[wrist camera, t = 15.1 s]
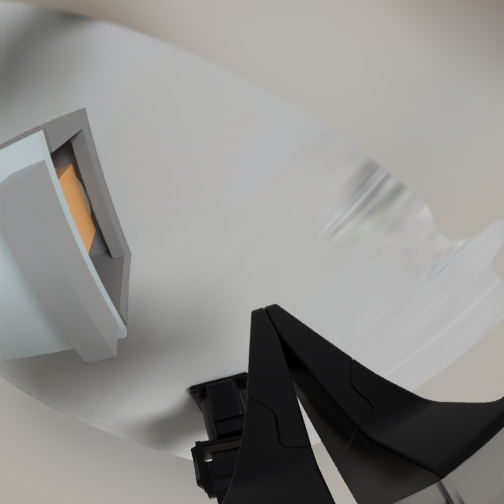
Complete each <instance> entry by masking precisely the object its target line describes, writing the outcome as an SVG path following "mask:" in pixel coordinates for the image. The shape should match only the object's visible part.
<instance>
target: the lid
mask: <svg viewBox="0 0 504 504" xmlns="http://www.w3.org/2000/svg"><path fill="white" fill-rule="evenodd" d="M126 335H127V328H126V327H125V325H124V323H123V321H122V320H121V318H120V316H119V314H118V312H117V311H116V309H115V307H114V305H113V303H112V301H111V299H110V298H109V296H108V294H107V292H106V290H105V288H104V286H103V284H102V282H101V280H100V278H99V276H98V274H97V272H96V270H95V268H94V266H93V263H92V261H91V259H90V257H89V255H88V253H87V250H86V248H85V246H84V244H83V241H82V239H81V237H80V235H79V232H78V230H77V227H76V225H75V223H74V220H73V218H72V215H71V213H70V210H69V208H68V205H67V202H66V200H65V197H64V194H63V192H62V189H61V186H60V183H59V180H58V178H57V175H56V172H55V169H54V166H53V163H52V159H51V156H50V153H49V150H48V146H47V143H46V140H45V136H44V133H43V130H40V131H38V132H36V133H34V134H31V135H29V136H27V137H25V138H23V139H21V140H19V141H17V142H15V143H13V144H11V145H9V146H7V147H5V148H3V149H1V150H0V362H3V361H9V360H16V359H22V358H27V357H33V356H39V355H44V354H50V353H55V352H60V351H65V350H70V349H74V350H75V351H76V352H77V354H78V355H79V356H80V358H81V359H82V360H83V361H84V363H85V364H86V363H92V362H97V361H102V360H107V359H112V358H117V343H118V339H122V338H126Z"/></svg>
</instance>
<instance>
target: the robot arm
mask: <svg viewBox="0 0 504 504" xmlns="http://www.w3.org/2000/svg"><path fill="white" fill-rule="evenodd" d="M190 393H191V395H192V397H193V398H194V400H195V402H196V403H197V405H198V407H199V408H200V410H201V411H202V413H203V418H204V422H205V426H206V430H207V434H208V438H209V440H208V441H202V442H201V441H197V442H195V444H196V446H195V447H193V448H192V449H191V452H192V457H193V461H194V467H195V474H196V481H197V485H198V486H199V487H200V488H202V489H204V490H205V493H207V494H208V497H209V499H212V498H217V501H218V504H335V502H334V500H333V497H332V495H331V493H330V491H329V489H328V487H327V485H326V482H325V480H324V478H323V476H322V474H321V472H320V469H319V467H318V465H317V462H316V459H315V456H314V453H313V450H312V448H311V443H310V440H309V436H308V433H307V430H306V426H305V423H304V420H303V416H302V413H301V410H300V406H299V403H298V399H299V401H300V403H301V405H302V406H303V408H304V410H305V412H306V414H307V415H308V417H309V419H310V421H311V423H312V425H313V426H314V428H315V430H316V432H317V434H318V435H319V437H320V439H321V441H322V443H323V444H324V446H325V448H326V450H327V451H328V453H329V455H330V457H331V458H332V460H333V462H334V463H335V466H336V467H337V469H338V471H339V473H340V474H341V476H342V478H343V479H344V481H345V483H346V485H347V486H348V488H349V490H350V492H351V493H352V495H353V497H354V498H355V500H356V502H357V503H358V504H504V397H502V398H501V399H499V400H496V401H493V402H486V403H466V402H464V403H463V402H437V401H432V400H428V399H425V398H422V397H420V396H418V395H416V394H414V393H412V392H410V391H408V390H406V389H404V388H402V387H400V386H398V385H396V384H394V383H392V382H390V381H388V380H386V379H385V378H383V377H381V376H379V375H377V374H376V373H374V372H372V371H371V370H369V369H368V368H366V367H365V366H363V365H362V364H360V363H359V362H357V361H356V360H355V359H353V360H352V357H350V356H349V355H347V354H346V353H344V352H343V351H342V350H340V349H339V348H337V347H336V346H334V345H333V344H332V343H330V342H329V341H327V340H326V339H325V338H323V337H322V336H320V335H319V334H318V333H316V332H315V331H313V330H312V329H311V328H309V327H308V326H306V325H305V324H304V323H302V322H301V321H299V320H298V319H297V318H295V317H294V316H293V315H291V314H290V313H288V312H287V311H286V310H284V309H283V308H281V307H280V306H279V305H277V304H273V305H270V306H266V307H265V308H260V309H256V310H253V311H252V312H251V328H250V346H249V364H248V373H243V374H240V375H236V376H233V377H229V378H225V379H222V380H218V381H214V382H210V383H206V384H202V385H198V386H194V387H191V388H190ZM296 395H297V396H296ZM297 397H298V399H297ZM209 459H212V461H208V462H207V460H209Z"/></svg>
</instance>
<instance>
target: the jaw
mask: <svg viewBox="0 0 504 504" xmlns="http://www.w3.org/2000/svg"><path fill="white" fill-rule="evenodd" d="M55 172H56V175H57V178H58V180H59V183H60V186H61V189H62V192H63V194H64V197H65V200H66V202H67V205H68V208H69V210H70V213H71V215H72V218H73V220H74V223H75V225H76V227H77V230H78V232H79V235H80V237H81V239H82V241H83V244H84V246H85V248H86V250H87V253H88V254H89V250H90V247H91V244H92V240H93V237H94V234H95V231H96V229H95V226H94V224H93V221H92V219H91V216H90V214H89V211H88V208H87V205H86V203H85V200H84V197H83V194H82V192H81V189H80V186H79V183H78V180H77V177H76V174H75V171H74V168H73V164H70V165H67V166H64V167H62V168H59V169H57V170H55Z"/></svg>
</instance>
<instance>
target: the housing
mask: <svg viewBox="0 0 504 504" xmlns="http://www.w3.org/2000/svg"><path fill="white" fill-rule="evenodd" d="M40 130H43V133H44V136H45V140H46V143H47V146H48V150H49V153H50V156H51V159H52V163H53V166H54V169H55V170H57V169H59V168H62V167H64V166H67V165H70V164H73V168H74V171H75V174H76V177H77V180H78V183H79V186H80V189H81V192H82V194H83V197H84V200H85V203H86V205H87V208H88V211H89V214H90V216H91V219H92V221H93V224H94V226H95V229H96V231H95V234H94V237H93V240H92V244H91V247H90V250H89V254H88V255H89V257H90V259H91V261H92V263H93V266H94V268H95V270H96V272H97V274H98V276H99V278H100V280H101V282H102V284H103V286H104V288H105V290H106V292H107V294H108V296H109V298H110V299H111V301H112V303H113V305H114V307H115V309H116V311H117V312H118V314H119V316H120V318H121V320H122V321H123V323H124V325H126V324H127V312H128V290H129V274H130V261H131V252H130V250H129V247H128V245H127V242H126V239H125V237H124V234H123V231H122V229H121V226H120V223H119V220H118V218H117V215H116V212H115V209H114V206H113V203H112V200H111V197H110V194H109V191H108V188H107V185H106V182H105V179H104V175H103V172H102V169H101V166H100V162H99V159H98V155H97V152H96V148H95V145H94V141H93V137H92V133H91V130H90V126H89V122H88V118H87V114H86V109H85V108H82V109H80V110H77V111H74V112H72V113H69V114H67V115H64V116H62V117H59V118H57V119H54V120H52V121H50V122H47V123H45V124H43V125H40V126H38V127H36V128H34V129H31V130H29V131H27V132H25V133H23V134H21V135H19V136H17V137H15V138H13V139H11V140H9V141H7V142H5V143H3V144H1V145H0V150H1V149H3V148H5V147H7V146H9V145H11V144H13V143H15V142H17V141H19V140H21V139H23V138H25V137H27V136H29V135H31V134H34V133H36V132H38V131H40Z"/></svg>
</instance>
